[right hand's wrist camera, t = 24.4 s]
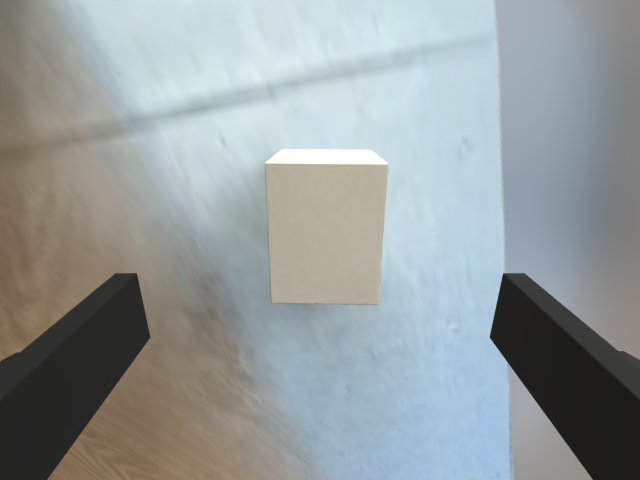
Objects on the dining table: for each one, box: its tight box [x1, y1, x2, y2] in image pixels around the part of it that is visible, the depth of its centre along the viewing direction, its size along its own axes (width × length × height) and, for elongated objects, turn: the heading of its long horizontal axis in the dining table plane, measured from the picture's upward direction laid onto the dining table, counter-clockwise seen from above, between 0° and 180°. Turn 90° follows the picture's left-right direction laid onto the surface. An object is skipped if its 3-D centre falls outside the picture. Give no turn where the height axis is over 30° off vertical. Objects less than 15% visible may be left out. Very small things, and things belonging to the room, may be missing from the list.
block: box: [265, 149, 388, 305], centre depth 24 cm, size 9×7×8 cm
